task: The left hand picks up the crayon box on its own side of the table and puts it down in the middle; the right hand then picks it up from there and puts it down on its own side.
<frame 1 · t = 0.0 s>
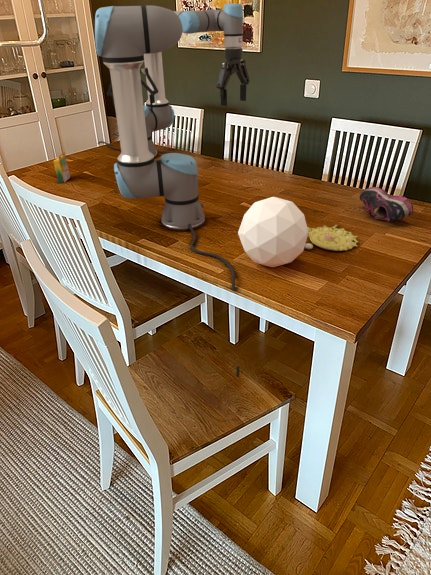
left hand: (233, 103, 193), 28 cm above the table, tool pointing down, fingers open, 13 cm apart
right hand: (135, 113, 181), 28 cm above the table, tool pointing down, fingers open, 13 cm apart
athletic shoe: (378, 216, 155), on the table
sphere: (271, 262, 130), on the table
crayon box: (64, 180, 198), on the table
decorative object: (328, 239, 142), on the table
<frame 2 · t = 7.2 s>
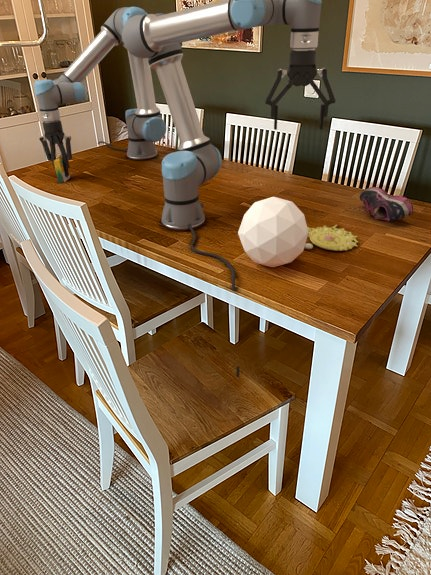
left hand: (63, 175, 197), 2 cm above the table, tool pointing down, fingers closed on crayon box, 3 cm apart
right hand: (297, 128, 134), 32 cm above the table, tool pointing down, fingers open, 13 cm apart
crayon box: (64, 180, 198), on the table, touching left hand
everything else where it was.
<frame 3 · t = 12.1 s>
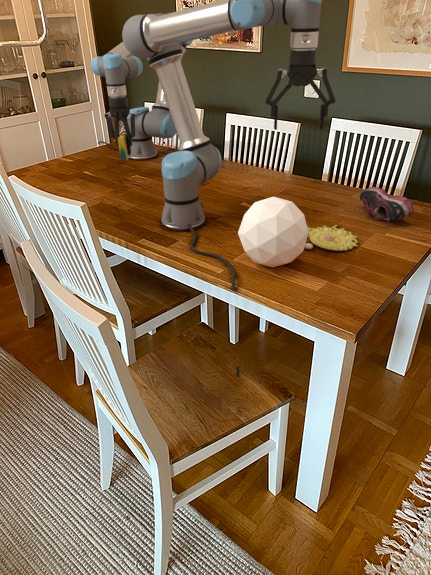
left hand: (125, 153, 195), 10 cm above the table, tool pointing down, fingers closed on crayon box, 3 cm apart
right hand: (297, 128, 134), 32 cm above the table, tool pointing down, fingers open, 13 cm apart
crayon box: (126, 158, 196), point 8 cm above the table, touching left hand
everything else where it was.
when the left hand's fingers open (3 cm above the table, at t = 17.4 s): crayon box drops 1 cm, on the table.
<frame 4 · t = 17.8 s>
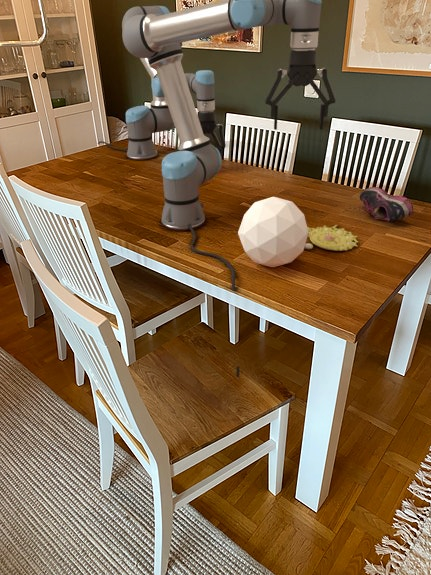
left hand: (208, 163, 200), 4 cm above the table, tool pointing down, fingers open, 9 cm apart
right hand: (297, 128, 134), 32 cm above the table, tool pointing down, fingers open, 13 cm apart
crayon box: (208, 172, 202), on the table
everything else where it was.
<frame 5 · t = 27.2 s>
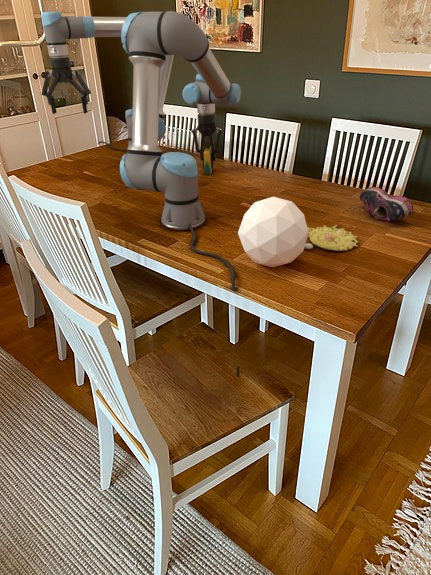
left hand: (70, 113, 188), 27 cm above the table, tool pointing down, fingers open, 13 cm apart
right hand: (208, 167, 201), 2 cm above the table, tool pointing down, fingers closed on crayon box, 3 cm apart
crayon box: (208, 172, 202), on the table, touching right hand
everything else where it was.
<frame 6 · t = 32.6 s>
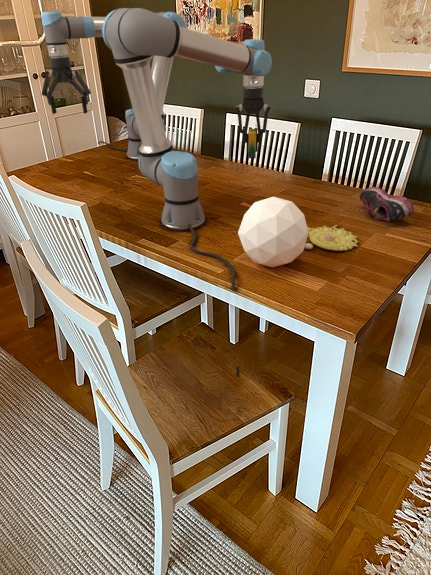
left hand: (70, 113, 188), 27 cm above the table, tool pointing down, fingers open, 13 cm apart
right hand: (252, 150, 176), 15 cm above the table, tool pointing down, fingers closed on crayon box, 3 cm apart
crayon box: (251, 155, 177), point 13 cm above the table, touching right hand
everything else where it was.
when the right hand's fingers open (3 cm above the table, at t = 38.0 s): crayon box drops 1 cm, on the table.
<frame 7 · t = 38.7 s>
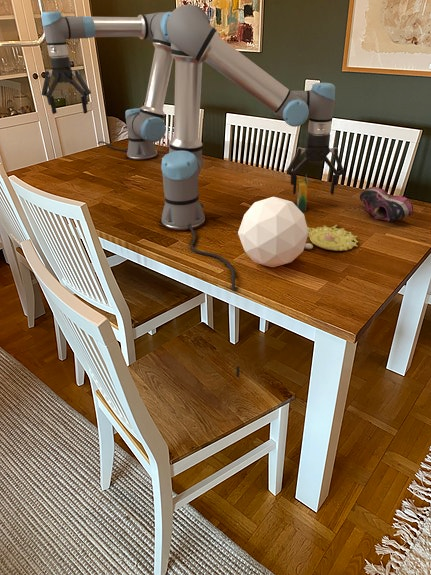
left hand: (70, 113, 188), 27 cm above the table, tool pointing down, fingers open, 13 cm apart
right hand: (313, 193, 161), 5 cm above the table, tool pointing down, fingers open, 13 cm apart
crayon box: (301, 207, 164), on the table
everything else where it was.
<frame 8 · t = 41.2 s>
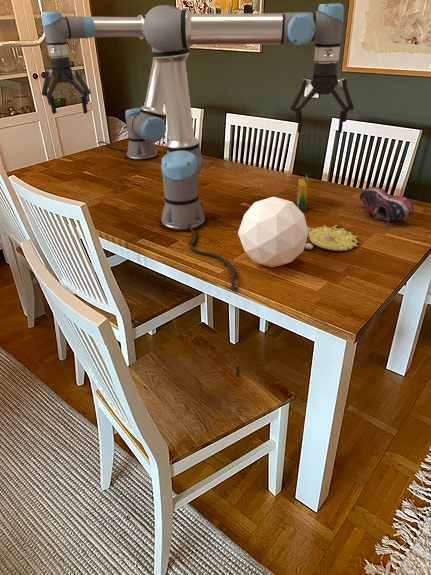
left hand: (70, 113, 188), 27 cm above the table, tool pointing down, fingers open, 13 cm apart
right hand: (319, 132, 150), 27 cm above the table, tool pointing down, fingers open, 13 cm apart
nothing on the table moved.
at the end: crayon box inside the target area (4.0 cm from its centre), on the table; crayon box tilted 0°; the two hands never held the crayon box at the same time; the left hand is holding nothing; the right hand is holding nothing; crayon box at rest at the end (0.0 cm/s) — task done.
